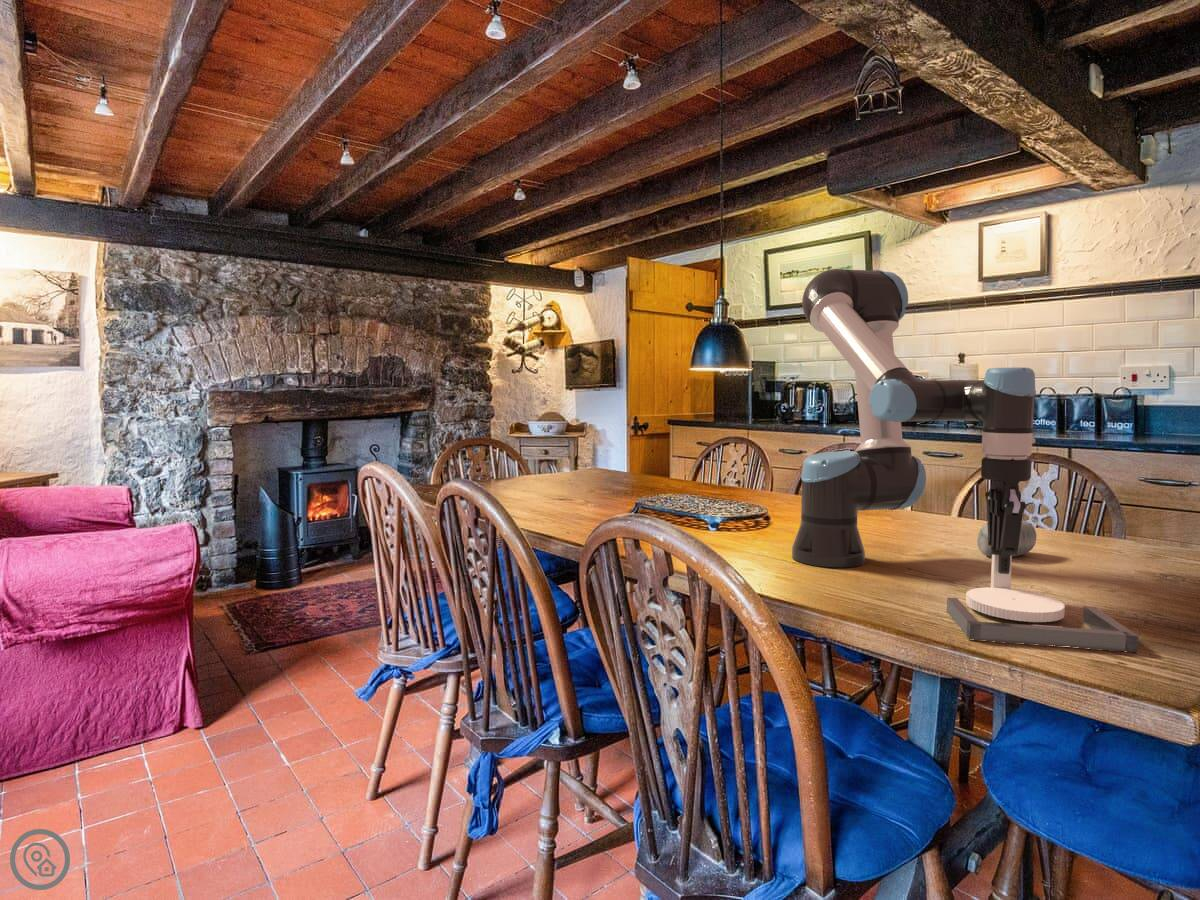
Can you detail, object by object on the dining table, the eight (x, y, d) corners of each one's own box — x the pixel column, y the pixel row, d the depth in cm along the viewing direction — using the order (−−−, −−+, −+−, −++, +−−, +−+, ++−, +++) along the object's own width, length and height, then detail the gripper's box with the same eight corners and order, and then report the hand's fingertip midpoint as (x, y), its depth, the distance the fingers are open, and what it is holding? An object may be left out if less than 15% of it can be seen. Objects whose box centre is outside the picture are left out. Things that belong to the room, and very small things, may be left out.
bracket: (969, 640, 102) (970, 624, 102) (946, 612, 116) (947, 597, 115) (1137, 653, 97) (1138, 635, 97) (1093, 622, 110) (1094, 606, 110)
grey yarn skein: (1004, 533, 163) (1017, 500, 158) (1039, 558, 156) (1054, 525, 150) (960, 551, 159) (972, 518, 153) (995, 578, 152) (1008, 545, 146)
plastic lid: (974, 596, 125) (975, 582, 125) (1068, 612, 116) (1069, 597, 116) (957, 616, 114) (958, 601, 114) (1058, 634, 105) (1059, 618, 105)
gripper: (1045, 461, 113) (1038, 602, 115) (1017, 454, 126) (1011, 581, 128) (994, 460, 115) (988, 599, 117) (971, 453, 128) (966, 579, 129)
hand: (1000, 589), depth 122 cm, fingers closed
